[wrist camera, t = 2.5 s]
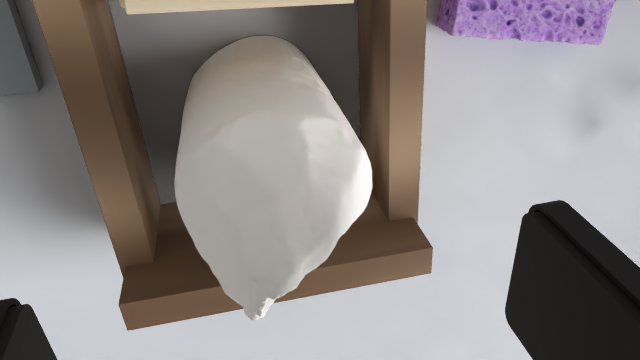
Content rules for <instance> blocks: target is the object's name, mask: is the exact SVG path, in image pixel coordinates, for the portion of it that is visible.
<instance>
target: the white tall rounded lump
mask: <svg viewBox="0 0 640 360" xmlns="http://www.w3.org/2000/svg"><path fill="white" fill-rule="evenodd" d="M174 186H175V196H176V202H177V206H178V210H179V212H180V215H181V218H182V220H183V222H184V224H185V226H186V228H187V230H188V232H189V234H190V236H191V237H192V239H193V242H194V244H195V247H196V248H197V250H198V252H199V254H200V255H201V257H202V258H203V259H204V260H205V261H206V262H207V263H208V265H209V266H210V269H211V270H212V273H213V274H214V275H215V276H216V278H217V279H218V280H219V283H220V285H221V286H222V288H223V291H224V292H225V293H226V294H227V295H228V296H229V297H230V298H231V299H233V300H234V301H235V302H237V303H238V304H240V305H241V306H243V308H244V312H245V314H246V315H247V316H248V317H249V318H250V319H252V320H254V321H256V320H258V319H260V318H261V317H263V318H264V317H265V313H266V312H267V310H268V309H269V308H270V306H271V305H272V304H273V303H274V301H275V300H276V299H277V298H280V297H282V296H284V295H285V294H286V293H288V292H290V291H293V290H294V289H295V288H297V287H298V285H299V283H300V282H301V280H302V279H303V278H304V276H305V275H306V274H308V273H309V272H311V271H312V270H314V269H316V268H317V267H318V266H320V264H322V263H323V262H325V261H326V260H327V258H328V257H329V255H330V254H331V252H332V250H333V249H334V248H335V246H336V244H337V241H338V240H339V238H340V237H341V236H342V235H343V234H345V233H346V231H347V230H348V229H349V228H350V226H351V224H352V223H353V222H354V221H356V220H357V218H358V217H359V216H360V215H361V214H362V213H363V211H364V210H365V208H366V206H367V204H368V202H369V198H370V195H371V191H372V168H371V163H370V160H369V158H368V156H367V152H366V150H365V148H364V147H363V145H362V144H361V142H360V141H359V139H358V137H357V135H356V134H355V132H354V130H353V129H352V127H351V125H350V123H349V122H348V120H347V118H346V117H345V116H344V114H343V113H342V111H341V110H340V108H339V106H338V105H337V103H336V102H335V100H334V99H333V96H332V95H331V94H330V91H329V90H328V88H327V87H326V85H325V84H324V82H323V81H322V80H321V78H320V76H319V75H318V73H317V72H316V70H315V69H314V67H313V66H312V64H311V63H310V62H309V60H308V59H307V58H306V56H305V55H304V54H303V53H302V52H301V51H300V50H299V49H298V48H297V47H295V46H294V45H293V44H291V43H290V42H288V41H286V40H284V39H281V38H279V37H275V36H269V35H263V36H252V37H247V38H243V39H241V40H237V41H235V42H234V43H232V44H229V45H227V46H225V47H223V48H221V49H220V50H218V51H217V52H216V53H214V54H213V55H212V56H211V57H210V58H209V59H208V60H207V61H205V62H204V63H203V65H202V66H201V67H200V68H199V69H198V71H197V72H196V73H195V74H194V75H193V77H192V80H191V82H190V85H189V88H188V93H187V97H186V100H185V105H184V110H183V117H182V125H181V135H180V140H179V147H178V153H177V161H176V169H175V180H174Z"/></svg>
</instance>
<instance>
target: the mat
mask: <svg viewBox="0 0 640 360" xmlns="http://www.w3.org/2000/svg"><path fill="white" fill-rule="evenodd" d="M42 87H43V84H42V81H41V78H40V75H39V72H38V69H37V67H36V64H35V61H34V58H33V55H32V52H31V49H30V46H29V43H28V41H27V38H26V35H25V32H24V29H23V26H22V23H21V20H20V17H19V15H18V12H17V9H16V6H15V3H14V0H0V96H6V95H14V94H23V93H31V92H39V91H40V90H41V88H42Z"/></svg>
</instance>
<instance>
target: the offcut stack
mask: <svg viewBox="0 0 640 360" xmlns="http://www.w3.org/2000/svg"><path fill="white" fill-rule="evenodd" d="M119 2H120V6H121V8H125V10H126V13H127V15H128V14H148V13H167V12H187V11H207V10H227V9H247V8H266V7H286V6H306V5H326V4H346V3H354V0H119Z"/></svg>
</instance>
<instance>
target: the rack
mask: <svg viewBox="0 0 640 360" xmlns="http://www.w3.org/2000/svg"><path fill="white" fill-rule="evenodd" d="M32 1H33V4H34V8H35V11H36V14H37V17H38V20H39V23H40V26H41V29H42V32H43V35H44V38H45V41H46V44H47V47H48V50H49V53H50V56H51V59H52V62H53V65H54V68H55V71H56V74H57V77H58V80H59V84H60V87H61V90H62V93H63V96H64V99H65V102H66V105H67V108H68V111H69V114H70V117H71V120H72V123H73V126H74V129H75V132H76V135H77V138H78V141H79V144H80V147H81V150H82V153H83V156H84V160H85V163H86V166H87V169H88V172H89V175H90V178H91V181H92V184H93V187H94V190H95V193H96V196H97V199H98V202H99V205H100V208H101V211H102V214H103V217H104V220H105V223H106V226H107V229H108V233H109V236H110V239H111V242H112V245H113V248H114V251H115V254H116V257H117V260H118V263H119V266H120V269H121V272H122V275H123V278H124V279H123V284H122V290H121V295H120V300H119V307H120V310H121V313H122V316H123V319H124V322H125V324H126V327H127V330H134V329H139V328H144V327H150V326H155V325H160V324H165V323H171V322H176V321H181V320H186V319H192V318H197V317H202V316H208V315H213V314H218V313H223V312H229V311H234V310H239V309H244V308H243V306H241V305H240V304H238V303H237V302H235V301H234V300H233V299H231V298H230V297H229V296H228V295H227V294H226V293H225V292H224V291H223V288H222V286H221V285H220V283H219V280H218V279H217V278H216V276H215V275H214V274H213V273H212V270H211V269H210V266H209V265H208V263H207V262H206V261H205V260H204V259H203V258H202V257H201V255H200V254H199V252H198V250H197V248H196V247H195V244H194V242H193V239H192V237H191V236H190V234H189V232H188V230H187V228H186V226H185V224H184V222H183V220H182V218H181V215H180V212H179V210H178V206H177V202H176V203H170V204H163V205H160V201H159V197H158V193H157V189H156V185H155V181H154V177H153V174H152V170H151V166H150V162H149V158H148V154H147V150H146V146H145V143H144V139H143V135H142V131H141V127H140V123H139V119H138V115H137V112H136V108H135V104H134V100H133V96H132V92H131V88H130V84H129V80H128V77H127V73H126V69H125V65H124V61H123V57H122V53H121V49H120V46H119V42H118V38H117V34H116V30H115V26H114V22H113V18H112V14H111V11H110V7H109V3H108V0H32ZM357 12H358V56H359V99H360V142H361V144H362V145H363V147H364V148H365V150H366V152H367V156H368V158H369V160H370V163H371V168H372V191H371V195H370V198H369V202H368V204H367V206H366V208H365V210H364V211H363V213H362V214H361V215H360V216H359V217H358V218H357V220H356V221H354V222H353V223H352V224H351V226H350V228H349V229H348V230H347V231H346V233H345V234H343V235H342V236H341V237H340V238H339V240H338V241H337V244H336V246H335V248H334V249H333V250H332V252H331V254H330V255H329V257H328V258H327V260H326V261H325V262H323V263H322V264H320V266H318V267H317V268H316V269H314V270H312V271H311V272H309V273H308V274H306V275H305V276H304V278H303V279H302V280H301V282H300V283H299V285H298V287H297V288H295V289H294V290H293V291H290V292H288V293H286V294H285V295H284V296H282V297H280V298H277V299H276V300H275V301H274V303H276V302H281V301H287V300H292V299H297V298H302V297H308V296H313V295H318V294H324V293H329V292H334V291H339V290H345V289H350V288H355V287H360V286H366V285H371V284H376V283H382V282H387V281H392V280H397V279H403V278H408V277H413V276H418V275H424V274H429V273H431V266H432V250H433V247H432V246H431V244H430V243H429V241H428V240H427V238H426V237H425V235H424V234H423V232H422V230H421V229H420V227H419V226H418V201H419V177H420V154H421V130H422V107H423V84H424V60H425V37H426V14H427V0H357Z"/></svg>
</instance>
